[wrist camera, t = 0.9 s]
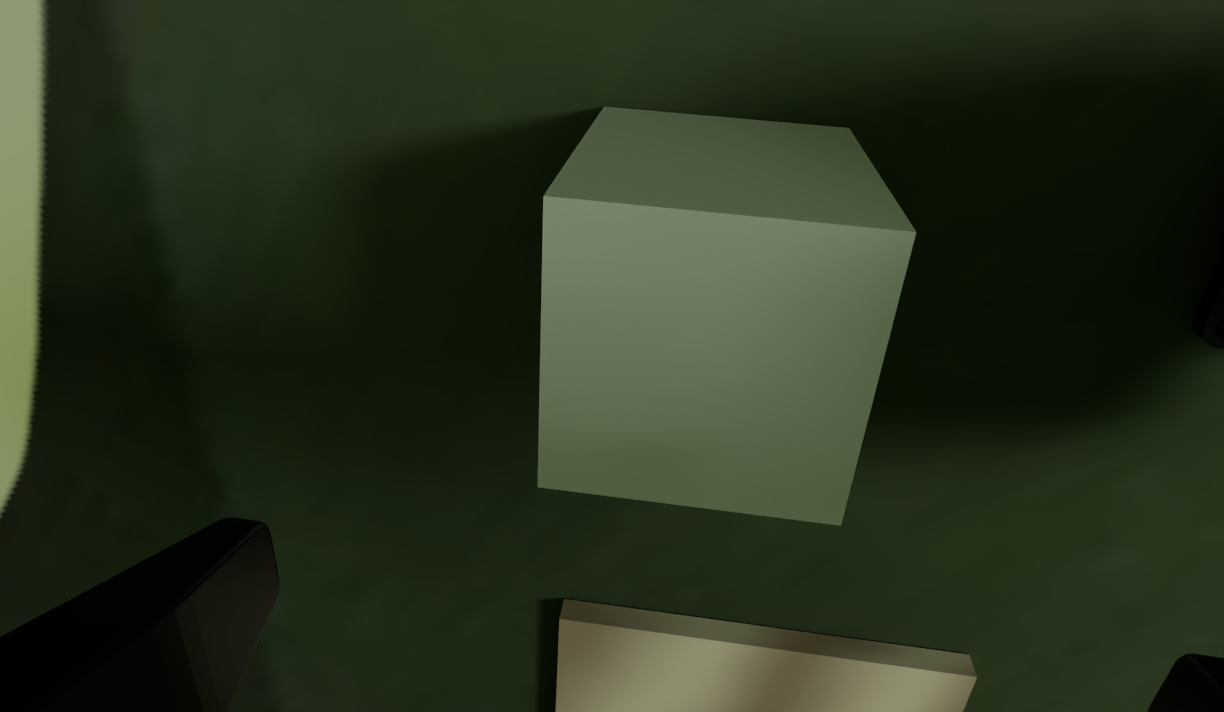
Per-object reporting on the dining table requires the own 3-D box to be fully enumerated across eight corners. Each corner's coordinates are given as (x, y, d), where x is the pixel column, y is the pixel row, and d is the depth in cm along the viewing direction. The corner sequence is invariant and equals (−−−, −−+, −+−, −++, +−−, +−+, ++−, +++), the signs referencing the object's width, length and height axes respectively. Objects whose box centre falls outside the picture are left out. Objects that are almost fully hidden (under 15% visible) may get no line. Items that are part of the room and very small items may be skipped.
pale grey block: (848, 128, 17) (916, 232, 11) (805, 346, 19) (840, 525, 13) (603, 106, 17) (543, 195, 11) (592, 322, 20) (537, 487, 14)
